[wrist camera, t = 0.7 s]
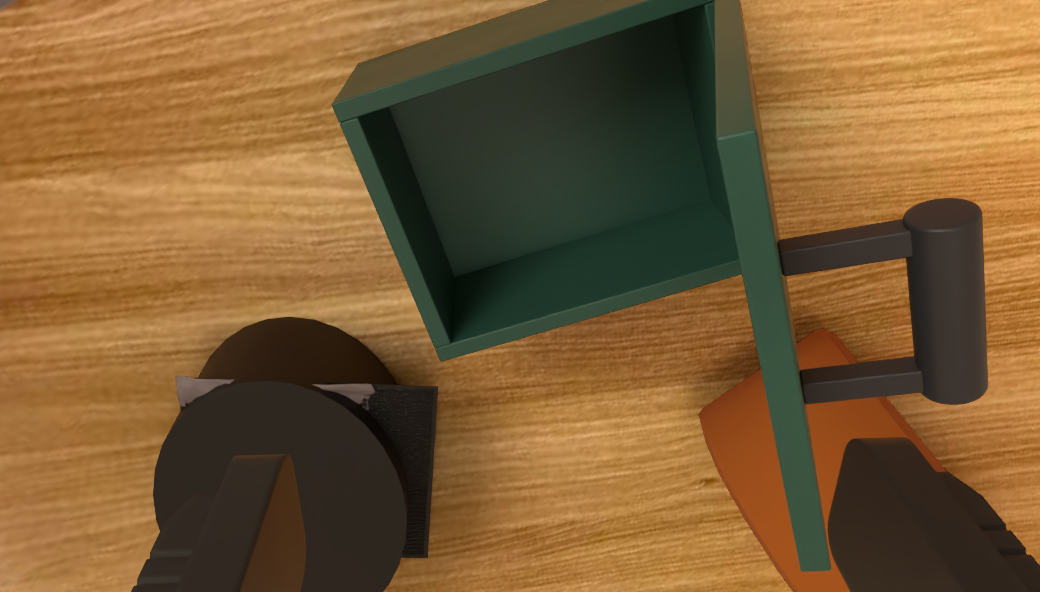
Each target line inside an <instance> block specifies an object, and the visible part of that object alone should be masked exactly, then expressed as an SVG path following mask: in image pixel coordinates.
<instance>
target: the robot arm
mask: <svg viewBox="0 0 1040 592" xmlns="http://www.w3.org/2000/svg"><path fill="white" fill-rule="evenodd" d="M828 539H829V545H830V550H831V553H832V556H833V559H834V561H835V563H836V565H837V567H838V569H839V571H840V573H841V575H842V577H843V579H844V581H845V582H846V584H847V586H848V588H849V590H850V592H1040V565H1039V564H1038V563H1037V562H1036V561H1035V559H1034V558H1033V557H1032V556H1031V555H1027V554H1026V551H1025V549H1026V548H1025V547H1024V546H1023V545H1022V544H1021V542H1020V541H1019V540H1018V539H1017V538H1016V536H1015V535H1014V534H1013V533H1012V532H1011V530H1010V531H1007V530H1006V524H1005V523H1004V522H1003V521H1002V519H1001V518H1000V517H999V516H998V515H997V513H996V512H995V511H994V510H993V509H992V507H991V506H990V505H989V504H988V502H987V501H986V500H985V499H984V498H983V496H981V495H980V494H979V493H977V492H976V491H974V490H973V489H972V488H970V487H969V486H967V485H966V484H964V483H963V482H962V481H960V480H959V479H957V478H956V477H954V476H953V475H952V474H950V473H949V472H936V471H935V470H934V468H933V467H932V466H931V465H930V463H929V462H928V461H927V459H926V458H925V457H924V456H923V454H922V453H921V452H920V450H919V449H918V448H917V447H916V445H915V444H914V443H913V442H912V441H911V440H909V439H908V438H905V437H890V438H857V439H852V440H850V441H849V442H848V444H847V445H846V448H845V451H844V454H843V459H842V463H841V467H840V471H839V475H838V480H837V484H836V488H835V492H834V497H833V501H832V505H831V509H830V513H829V518H828ZM305 561H306V539H305V531H304V525H303V519H302V513H301V506H300V500H299V494H298V488H297V482H296V476H295V470H294V465H293V461H292V458H291V456H290V455H289V454H274V455H241V456H234V457H233V458H232V460H231V461H230V463H229V466H228V468H227V470H226V473H225V475H224V477H223V480H222V482H221V484H220V487H219V489H218V492H217V493H213V494H193V495H192V496H191V497H190V498H189V499H188V500H187V501H186V502H185V503H184V504H183V505H182V506H181V507H180V508H179V509H178V510H177V511H176V512H175V513H174V514H173V515H172V516H171V517H169V518H168V519H167V520H166V521H165V523H164V525H163V527H162V529H161V531H160V533H159V535H158V537H157V540H156V542H155V544H154V546H153V548H152V550H151V552H150V559H147V560H146V562H145V564H144V566H143V568H142V570H141V572H140V575H139V577H138V579H137V586H134V587H133V589H132V591H131V592H300V591H301V586H302V582H303V578H304V571H305Z"/></svg>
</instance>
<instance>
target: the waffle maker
mask: <svg viewBox="0 0 1040 592" xmlns="http://www.w3.org/2000/svg"><path fill="white" fill-rule="evenodd" d="M176 381H177V394H178V399H179V402H180V408H181V411H180V413H179V415H178V417H177V418H176V420H175V422H174V424H173V426H172V428H171V430H170V432H169V434H168V435H167V437H166V439H165V441H164V443H163V445H162V448H161V451H160V454H159V458H158V461H157V464H156V468H155V476H154V489H153V497H154V505H155V513H156V520H157V523H158V526H159V529H160V531H161V529H162V527H163V525H164V523H165V521H166V520H167V519H168V518H169V517H171V516H172V515H173V514H174V513H175V512H176V511H177V510H178V509H179V508H180V507H181V506H182V505H183V504H184V503H185V502H186V501H187V500H188V499H189V498H190V497H191V496H192V495H193V494H213V493H217V492H218V489H219V487H220V484H221V482H222V480H223V477H224V475H225V473H226V470H227V468H228V466H229V463H230V461H231V460H232V458H233V457H234V456H241V455H274V454H289V455H290V456H291V458H292V461H293V465H294V470H295V476H296V482H297V488H298V494H299V500H300V506H301V513H302V519H303V525H304V531H305V539H306V561H305V571H304V578H303V582H302V586H301V591H300V592H383V591H384V590H385V589H386V587H387V586H388V585H389V584H390V582H391V580H392V578H393V576H394V574H395V572H396V570H397V568H398V566H399V564H400V560H401V558H428V542H429V526H430V510H431V493H432V477H433V461H434V444H435V428H436V411H437V395H438V387H436V386H408V385H396V383H395V381H394V379H393V377H392V376H391V374H390V373H389V372H388V371H387V369H386V368H385V367H384V365H383V364H382V363H381V362H380V360H379V359H378V358H377V357H376V356H375V355H374V354H373V353H372V352H371V351H370V350H368V349H367V348H366V347H365V346H364V345H363V344H362V343H361V342H359V341H358V340H356V339H355V338H353V337H351V336H350V335H348V334H346V333H345V332H343V331H341V330H340V329H338V328H336V327H333V326H330V325H327V324H324V323H321V322H318V321H316V320H310V319H302V318H294V317H286V318H276V319H267V320H264V321H261V322H258V323H255V324H252V325H250V326H247V327H244V328H243V329H241V330H240V331H238V332H237V333H235V334H234V335H232V336H231V337H229V338H228V339H226V340H225V341H224V342H223V343H222V344H221V345H220V347H219V348H218V349H217V350H216V351H215V352H214V353H213V354H212V355H211V356H210V358H209V360H208V361H207V363H206V365H205V367H204V368H203V370H202V372H201V373H200V375H199V377H198V378H191V377H185V376H176Z"/></svg>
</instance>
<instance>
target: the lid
mask: <svg viewBox="0 0 1040 592" xmlns="http://www.w3.org/2000/svg"><path fill="white" fill-rule="evenodd" d="M714 16H715V105H716V144H717V149H718V154H719V159H720V164H721V169H722V174H723V179H724V184H725V190H726V195H727V200H728V205H729V210H730V215H731V220H732V225H733V230H734V235H735V241H736V246H737V251H738V256H739V261H740V266H741V271H742V276H743V281H744V286H745V291H746V297H747V302H748V307H749V312H750V317H751V322H752V327H753V332H754V337H755V342H756V347H757V353H758V358H759V363H760V368H761V373H762V378H763V383H764V388H765V393H766V398H767V404H768V409H769V414H770V419H771V424H772V429H773V434H774V439H775V444H776V449H777V454H778V460H779V465H780V470H781V475H782V480H783V485H784V490H785V495H786V500H787V505H788V510H789V516H790V521H791V526H792V531H793V536H794V541H795V546H796V551H797V556H798V561H799V567H800V570H801V571H802V572H814V571H830V570H831V562H830V555H829V549H828V543H827V536H826V530H825V523H824V517H823V510H822V504H821V497H820V491H819V485H818V478H817V472H816V465H815V459H814V452H813V446H812V439H811V433H810V427H809V420H808V414H807V407H806V404H815V403H825V402H835V401H844V400H854V399H863V398H873V397H883V396H892V395H902V394H911V393H922V394H923V395H924V396H925V397H926V398H928V399H930V400H932V401H934V402H937V403H941V404H949V405H958V404H965V403H969V402H972V401H975V400H977V399H979V398H980V397H981V396H982V395H983V394H984V393H985V392H986V390H987V388H988V371H987V341H986V311H985V282H984V252H983V223H982V211H981V209H980V207H979V206H978V205H977V204H975V203H973V202H971V201H968V200H964V199H957V198H942V199H934V200H929V201H925V202H922V203H919V204H917V205H915V206H913V207H911V208H910V209H908V210H907V211H906V213H905V214H904V217H903V219H900V220H894V221H888V222H882V223H876V224H871V225H865V226H859V227H853V228H847V229H841V230H835V231H829V232H823V233H817V234H812V235H806V236H800V237H794V238H788V239H782V240H780V236H779V230H778V224H777V218H776V212H775V206H774V200H773V194H772V188H771V182H770V176H769V170H768V164H767V158H766V152H765V146H764V140H763V134H762V128H761V122H760V116H759V110H758V104H757V98H756V92H755V86H754V80H753V74H752V68H751V62H750V56H749V50H748V44H747V38H746V32H745V26H744V20H743V14H742V8H741V2H740V0H714ZM900 258H906V264H907V276H908V287H909V299H910V311H911V323H912V334H913V346H914V356H912V357H904V358H895V359H887V360H878V361H870V362H861V363H853V364H844V365H836V366H827V367H819V368H810V369H802V370H801V369H800V362H799V356H798V349H797V343H796V336H795V330H794V323H793V317H792V311H791V304H790V298H789V291H788V285H787V278H786V276H790V275H797V274H803V273H810V272H816V271H823V270H829V269H836V268H842V267H848V266H855V265H861V264H868V263H874V262H881V261H887V260H894V259H900Z"/></svg>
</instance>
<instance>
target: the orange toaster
mask: <svg viewBox="0 0 1040 592" xmlns="http://www.w3.org/2000/svg"><path fill="white" fill-rule="evenodd" d="M797 349H798V356H799V362H800V369H801V370H802V369H810V368H819V367H827V366H836V365H844V364H853V363H858V362H857V360H856V359H855V358H854V357H853V355H852V354H851V353H850V352H849V350H848V349H847V348H846V347H845V346H844V344H843V343H842V342H841V341H840V339H839V338H838V337H837V336H836V335H835V334H833V333H831V332H829V331H827V330H825V329H823V328H822V329H819V330H816V331H814V332H812V333H811V334H810V335H808V336H807V337H805V338H804V339H802V340H801V341H799V342H798V343H797ZM806 407H807V414H808V420H809V427H810V433H811V439H812V446H813V452H814V459H815V465H816V472H817V478H818V485H819V491H820V497H821V504H822V510H823V517H824V523H825V530H826V536H827V543H828V549H829V555H830V562H831V570H830V571H814V572H802V571H801V570H800V567H799V561H798V556H797V551H796V546H795V541H794V536H793V531H792V526H791V521H790V516H789V510H788V505H787V500H786V495H785V490H784V485H783V480H782V475H781V470H780V465H779V460H778V454H777V449H776V444H775V439H774V434H773V429H772V424H771V419H770V414H769V409H768V404H767V398H766V393H765V388H764V383H763V378H762V373H761V369H759V370H758V371H756V372H755V373H753V374H752V375H751V376H749V377H748V378H746V379H745V380H743V381H742V382H740V383H739V384H738V385H736V386H735V387H733V388H732V389H730V390H729V391H727V392H726V393H725V394H723V395H722V396H720V397H719V398H717V399H716V400H715V401H713V402H712V403H710V404H709V405H707V406H706V407H704V408H703V409H702V410H701V412H700V413H699V418H700V422H701V426H702V430H703V433H704V437H705V440H706V444H707V446H708V449H709V451H710V453H711V456H712V458H713V460H714V463H715V465H716V467H717V470H718V472H719V474H720V476H721V478H722V480H723V481H724V483H725V485H726V487H727V488H728V490H729V492H730V494H731V495H732V497H733V499H734V501H735V502H736V504H737V506H738V508H739V510H740V511H741V513H742V515H743V517H744V518H745V520H746V522H747V523H748V525H749V526H750V528H751V530H752V531H753V533H754V534H755V536H756V537H757V539H758V540H759V542H760V544H761V545H762V547H763V548H764V550H765V551H766V553H767V554H768V556H769V558H770V559H771V561H772V562H773V564H774V565H775V567H776V569H777V570H778V571H779V573H780V574H781V576H782V577H783V578H784V580H785V581H786V583H787V584H788V585H789V587H790V588H791V589H792V591H793V592H850V590H849V588H848V586H847V584H846V582H845V581H844V579H843V577H842V575H841V573H840V571H839V569H838V567H837V565H836V563H835V561H834V559H833V556H832V553H831V550H830V545H829V539H828V518H829V513H830V509H831V505H832V501H833V497H834V492H835V488H836V484H837V480H838V475H839V471H840V467H841V463H842V459H843V454H844V451H845V448H846V445H847V444H848V442H849V441H850V440H852V439H857V438H890V437H905V438H908V439H909V440H911V441H912V442H913V443H914V444H915V445H916V447H917V448H918V449H919V450H920V452H921V453H922V454H923V456H924V457H925V458H926V459H927V461H928V462H929V463H930V465H931V466H932V467H933V468H934V470H935V471H936V472H947V471H946V470H945V469H944V468H943V467H942V465H941V464H940V463H939V462H938V460H937V459H936V458H935V457H934V455H933V454H932V453H931V452H930V451H929V449H928V448H927V447H926V446H925V444H924V443H923V442H922V441H921V439H920V438H919V437H918V436H917V434H916V433H915V432H914V431H913V430H912V428H911V427H910V426H909V425H908V423H907V422H906V421H905V420H904V418H903V417H902V416H901V415H900V413H899V412H898V411H897V410H896V409H895V407H894V406H893V405H892V404H891V402H890V401H889V400H888V399H887V397H886V396H883V397H873V398H863V399H854V400H844V401H835V402H825V403H815V404H806Z"/></svg>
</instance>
